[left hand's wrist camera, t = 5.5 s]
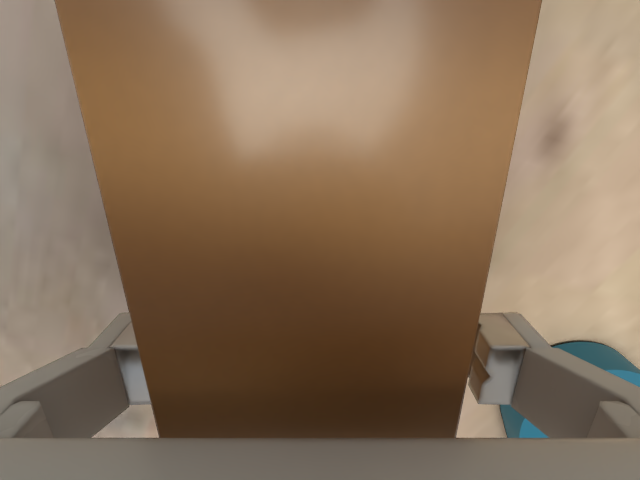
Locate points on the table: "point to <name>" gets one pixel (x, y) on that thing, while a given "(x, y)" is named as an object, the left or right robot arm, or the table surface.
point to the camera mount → (587, 352)
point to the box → (302, 201)
